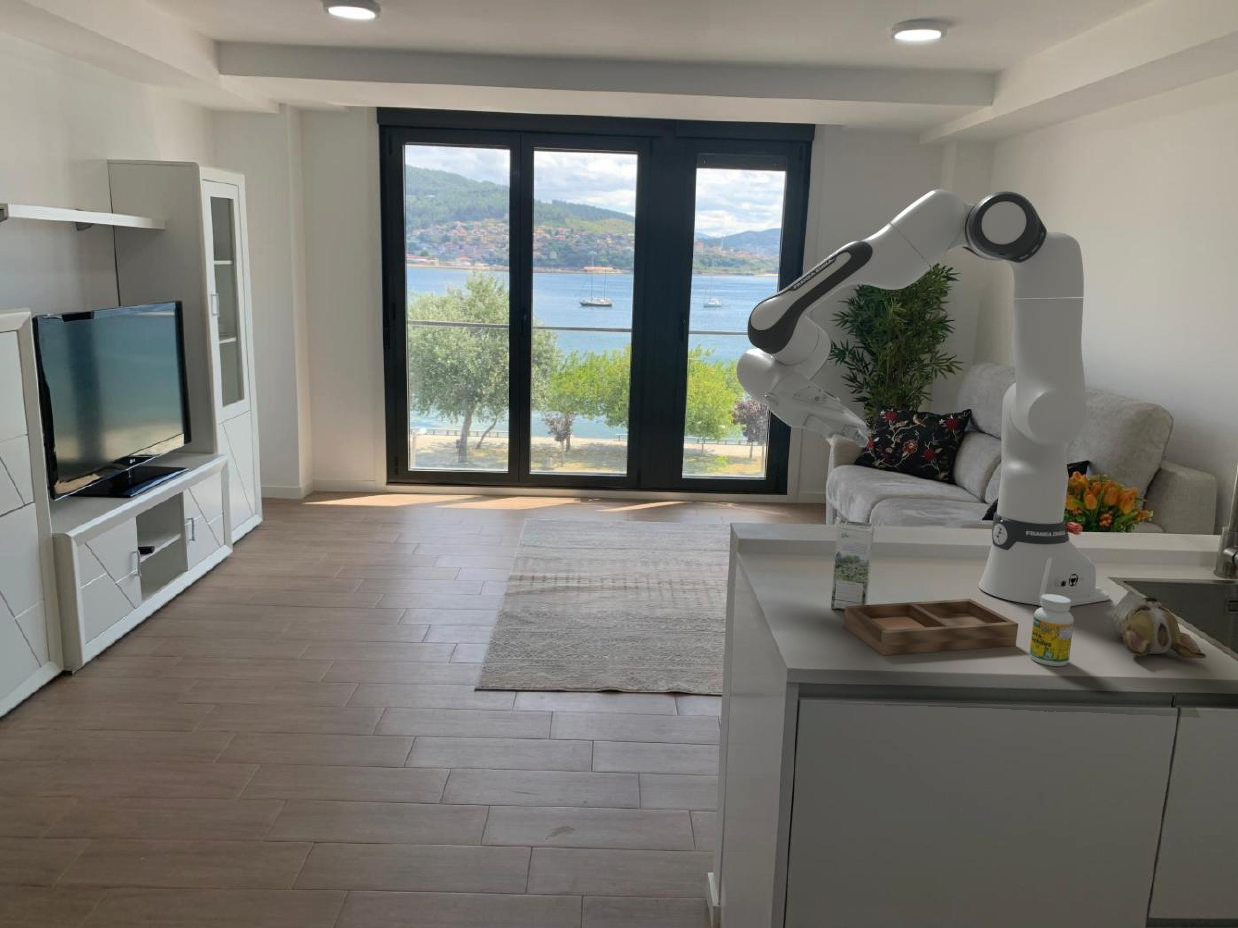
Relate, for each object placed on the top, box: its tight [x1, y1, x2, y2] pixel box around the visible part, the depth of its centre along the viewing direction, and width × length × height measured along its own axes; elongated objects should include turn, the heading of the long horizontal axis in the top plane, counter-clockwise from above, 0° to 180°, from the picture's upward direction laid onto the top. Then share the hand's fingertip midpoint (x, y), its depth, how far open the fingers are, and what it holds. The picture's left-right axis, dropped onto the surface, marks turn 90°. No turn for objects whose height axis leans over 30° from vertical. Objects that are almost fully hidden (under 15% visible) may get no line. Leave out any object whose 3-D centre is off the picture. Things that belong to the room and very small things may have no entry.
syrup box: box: [830, 519, 875, 611], centre depth 161 cm, size 6×6×14 cm
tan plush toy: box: [1110, 590, 1207, 659], centre depth 147 cm, size 11×9×15 cm
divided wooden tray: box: [843, 598, 1019, 656], centre depth 149 cm, size 23×12×4 cm, turn 106°
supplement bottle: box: [1029, 594, 1075, 667], centre depth 141 cm, size 5×5×10 cm
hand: (848, 439), depth 164 cm, fingers open, 8 cm apart
